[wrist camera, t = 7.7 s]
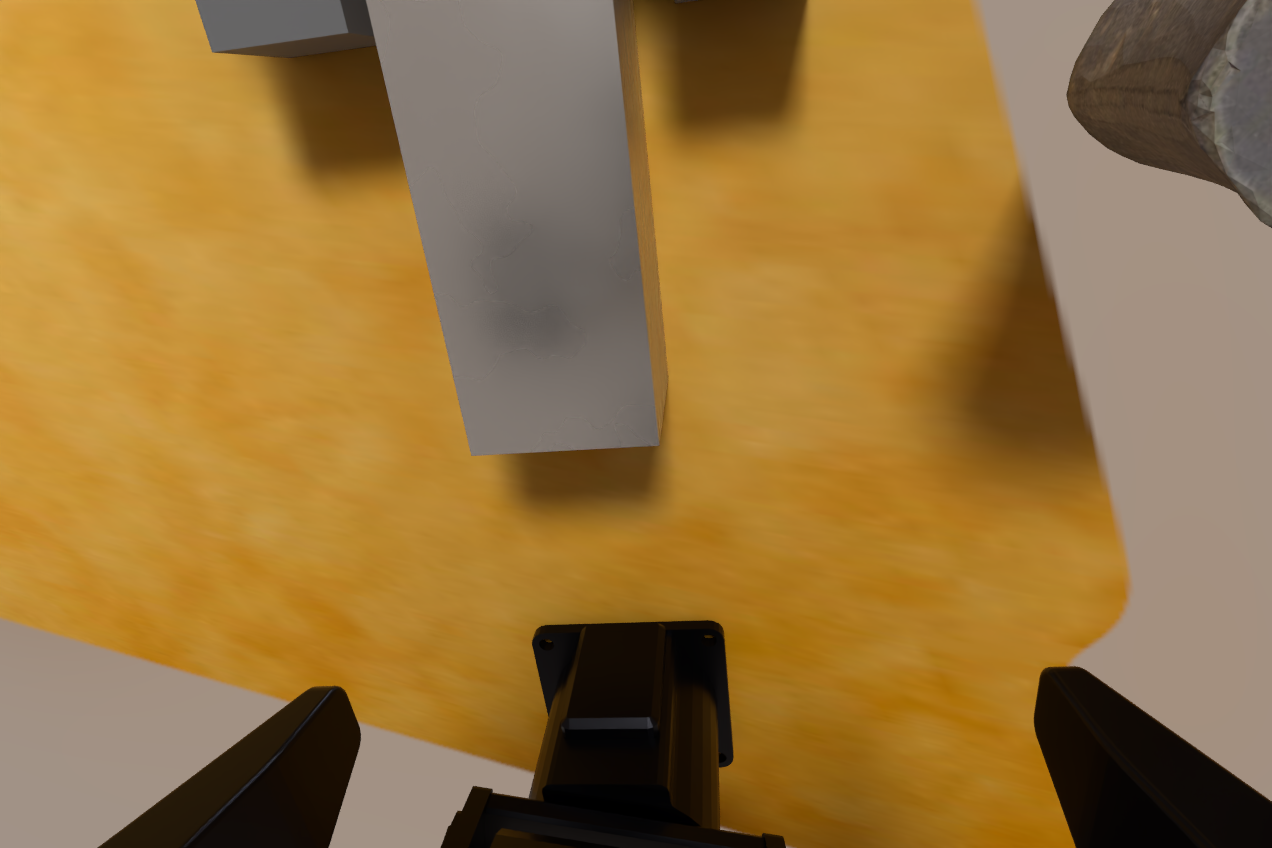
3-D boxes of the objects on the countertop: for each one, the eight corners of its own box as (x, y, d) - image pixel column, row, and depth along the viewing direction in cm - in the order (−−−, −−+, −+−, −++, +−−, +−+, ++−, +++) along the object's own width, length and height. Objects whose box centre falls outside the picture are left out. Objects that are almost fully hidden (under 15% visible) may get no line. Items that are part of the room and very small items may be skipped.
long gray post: (668, 373, 20) (659, 445, 16) (517, 384, 21) (471, 455, 17) (620, -144, 15) (589, -227, 11) (422, -111, 16) (324, -180, 12)
